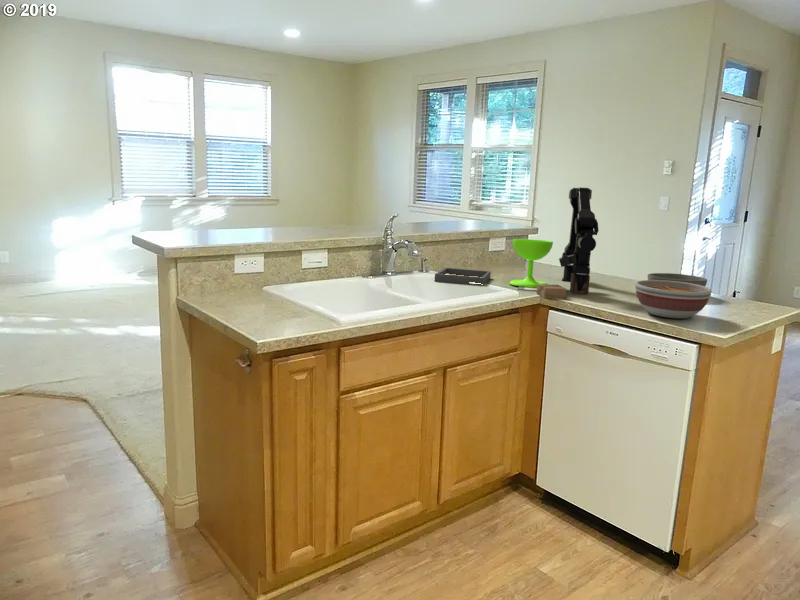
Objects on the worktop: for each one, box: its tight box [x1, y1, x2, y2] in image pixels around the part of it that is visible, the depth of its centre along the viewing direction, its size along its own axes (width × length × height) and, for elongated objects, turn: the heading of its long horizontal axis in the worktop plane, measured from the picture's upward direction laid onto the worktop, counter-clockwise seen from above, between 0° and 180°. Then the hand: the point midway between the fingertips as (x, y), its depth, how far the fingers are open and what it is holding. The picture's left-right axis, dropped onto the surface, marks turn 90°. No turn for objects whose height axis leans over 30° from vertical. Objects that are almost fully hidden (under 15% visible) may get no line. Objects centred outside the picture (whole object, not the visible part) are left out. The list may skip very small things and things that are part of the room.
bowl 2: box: [635, 279, 712, 319], centre depth 200 cm, size 23×23×10 cm
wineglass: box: [508, 238, 554, 288], centre depth 246 cm, size 16×16×18 cm
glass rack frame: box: [434, 267, 492, 285], centre depth 255 cm, size 20×20×3 cm
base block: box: [536, 284, 567, 299], centre depth 226 cm, size 8×8×4 cm
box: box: [569, 273, 591, 295], centre depth 234 cm, size 6×6×7 cm
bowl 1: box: [647, 272, 708, 287], centre depth 236 cm, size 21×21×8 cm
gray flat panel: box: [517, 286, 537, 293], centre depth 239 cm, size 10×14×1 cm
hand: (579, 289), depth 235 cm, fingers open, 9 cm apart
